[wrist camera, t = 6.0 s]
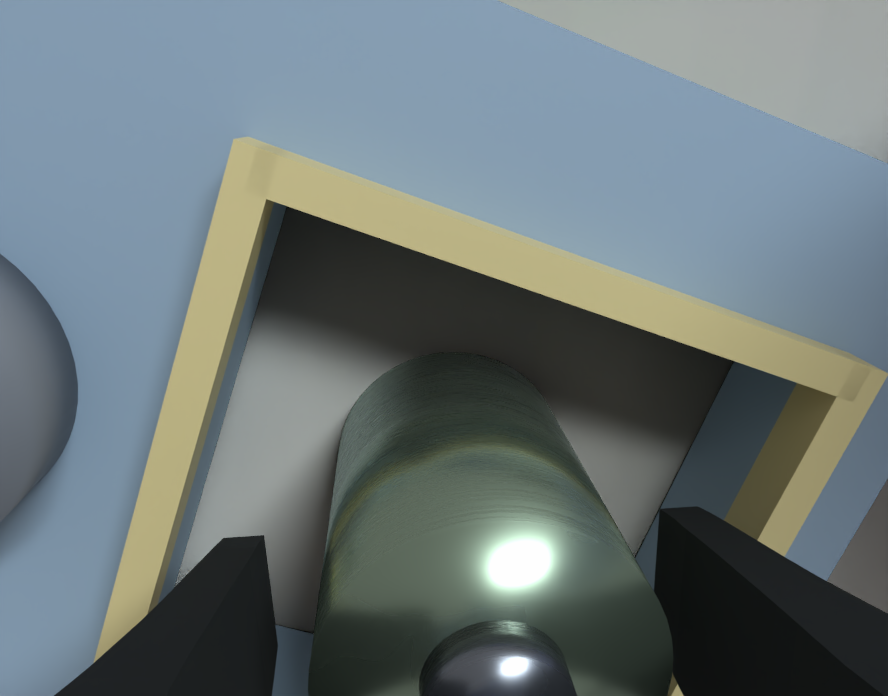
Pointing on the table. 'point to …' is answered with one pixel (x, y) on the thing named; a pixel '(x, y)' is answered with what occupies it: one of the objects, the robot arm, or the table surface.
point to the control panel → (409, 225)
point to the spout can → (475, 551)
